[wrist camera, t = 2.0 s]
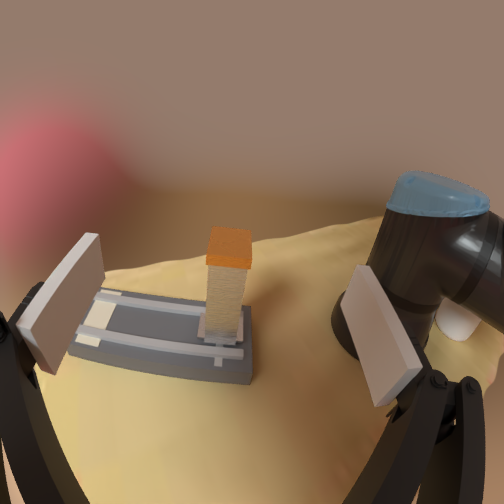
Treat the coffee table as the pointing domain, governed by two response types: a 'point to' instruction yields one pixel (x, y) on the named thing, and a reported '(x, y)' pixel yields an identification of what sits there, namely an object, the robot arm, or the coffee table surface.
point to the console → (159, 338)
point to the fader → (225, 285)
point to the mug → (455, 320)
